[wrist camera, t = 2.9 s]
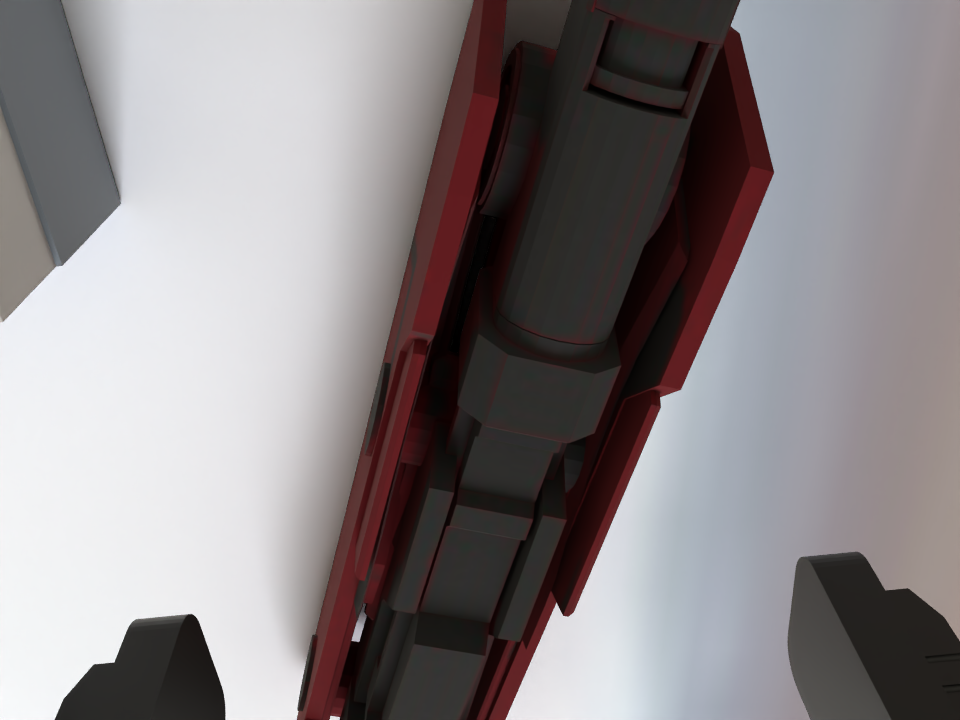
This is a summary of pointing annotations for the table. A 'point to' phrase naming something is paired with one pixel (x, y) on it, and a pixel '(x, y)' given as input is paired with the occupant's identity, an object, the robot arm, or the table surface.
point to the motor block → (45, 150)
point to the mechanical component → (535, 344)
